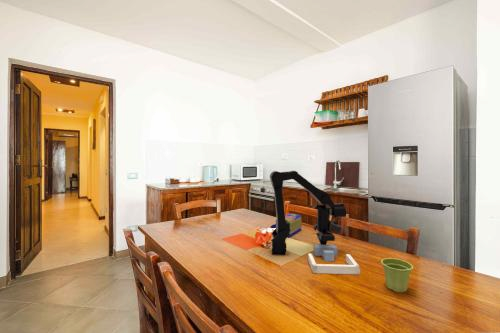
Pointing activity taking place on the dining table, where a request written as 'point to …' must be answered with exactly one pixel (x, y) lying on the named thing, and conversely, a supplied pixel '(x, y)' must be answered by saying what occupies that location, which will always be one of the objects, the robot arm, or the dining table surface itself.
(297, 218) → the blue and olive box
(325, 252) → the t block
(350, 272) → the u-shaped frame
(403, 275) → the plant pot
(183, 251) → the dining table surface
